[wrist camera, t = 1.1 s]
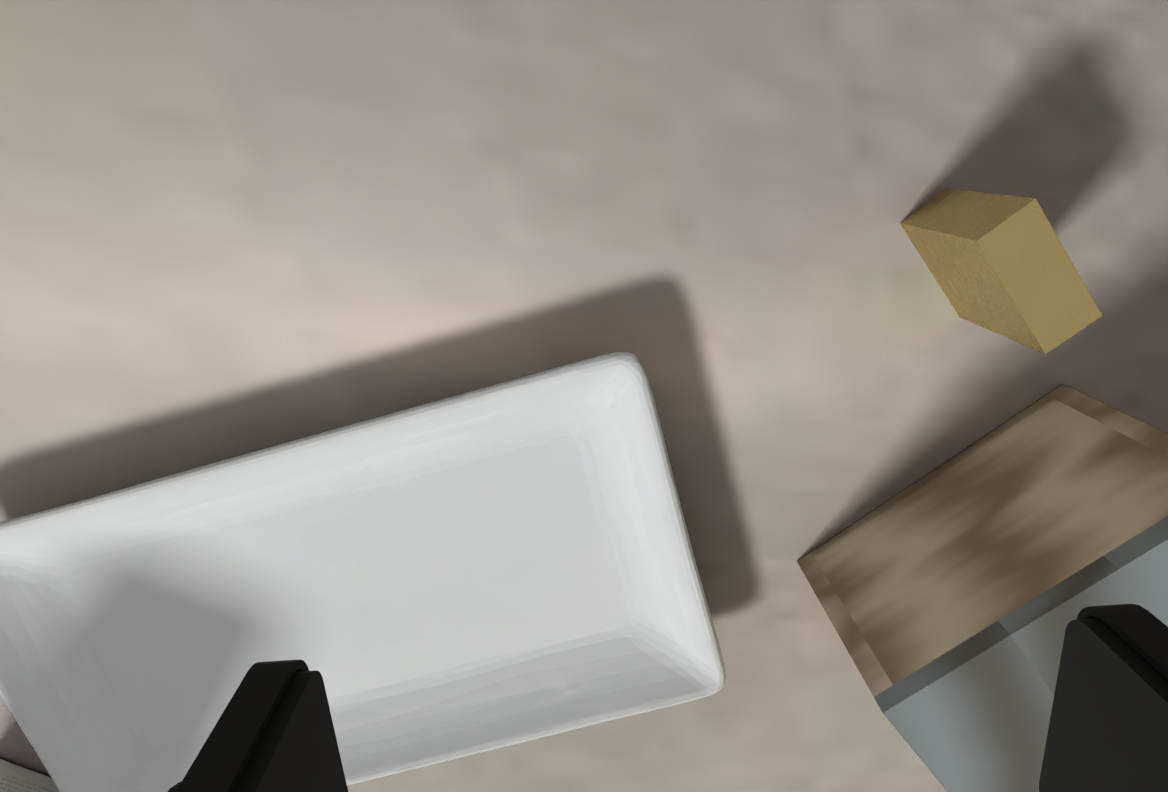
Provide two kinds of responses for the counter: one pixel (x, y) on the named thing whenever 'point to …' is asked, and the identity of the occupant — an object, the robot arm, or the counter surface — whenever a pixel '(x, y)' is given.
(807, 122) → the counter surface
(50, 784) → the supplement box
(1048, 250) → the block
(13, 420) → the counter surface
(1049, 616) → the box
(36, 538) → the tray
